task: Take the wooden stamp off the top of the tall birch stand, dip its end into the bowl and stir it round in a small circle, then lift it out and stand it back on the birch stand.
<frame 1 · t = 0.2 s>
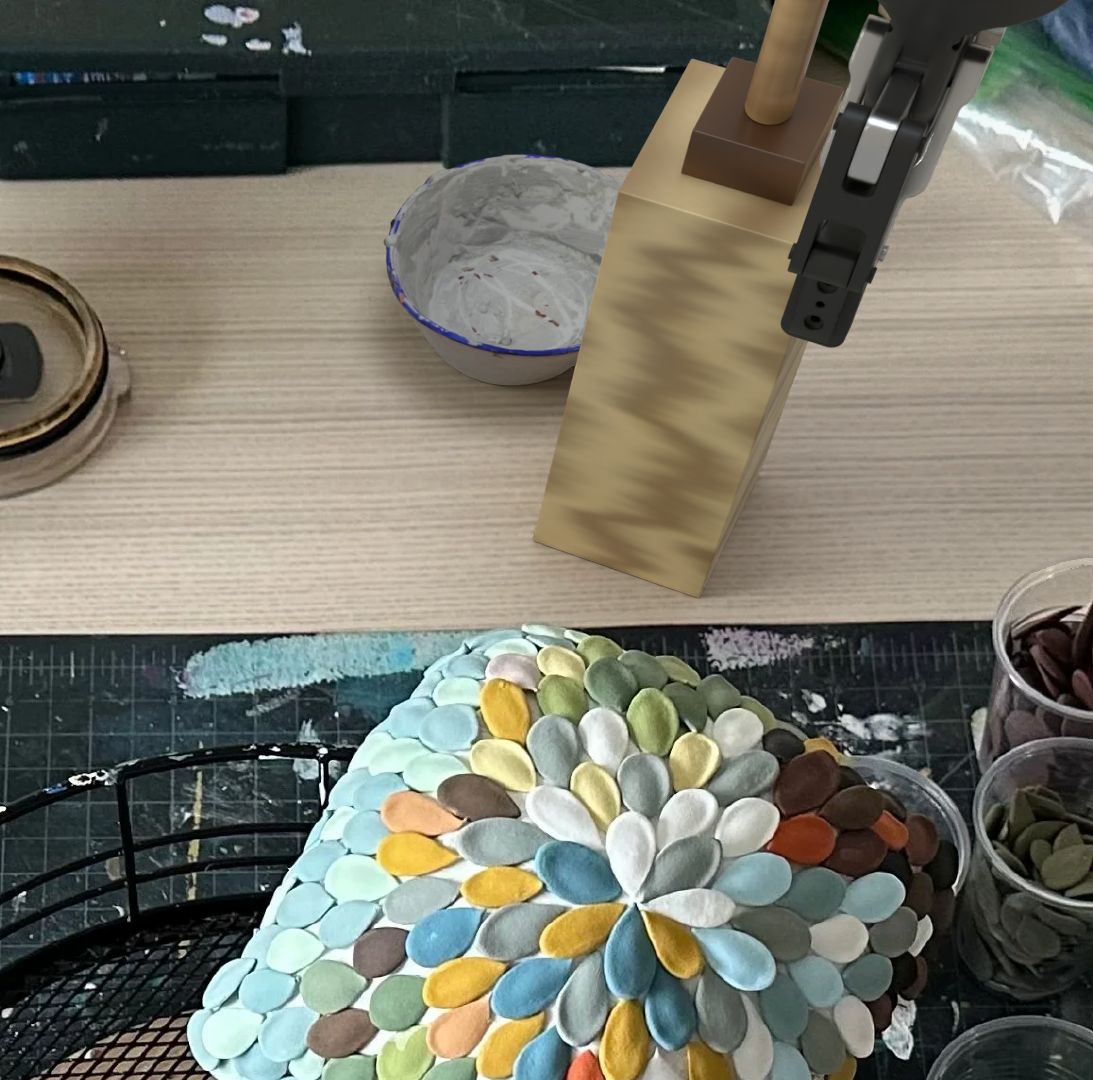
hand: (852, 250, 79), 24 cm above the table, tool pointing down, fingers open, 8 cm apart
pill bottle: (749, 258, 112), on the table
bowl: (507, 327, 111), on the table
stand: (646, 507, 106), on the table
wooden stamp: (755, 152, 88), point 20 cm above the table, touching stand
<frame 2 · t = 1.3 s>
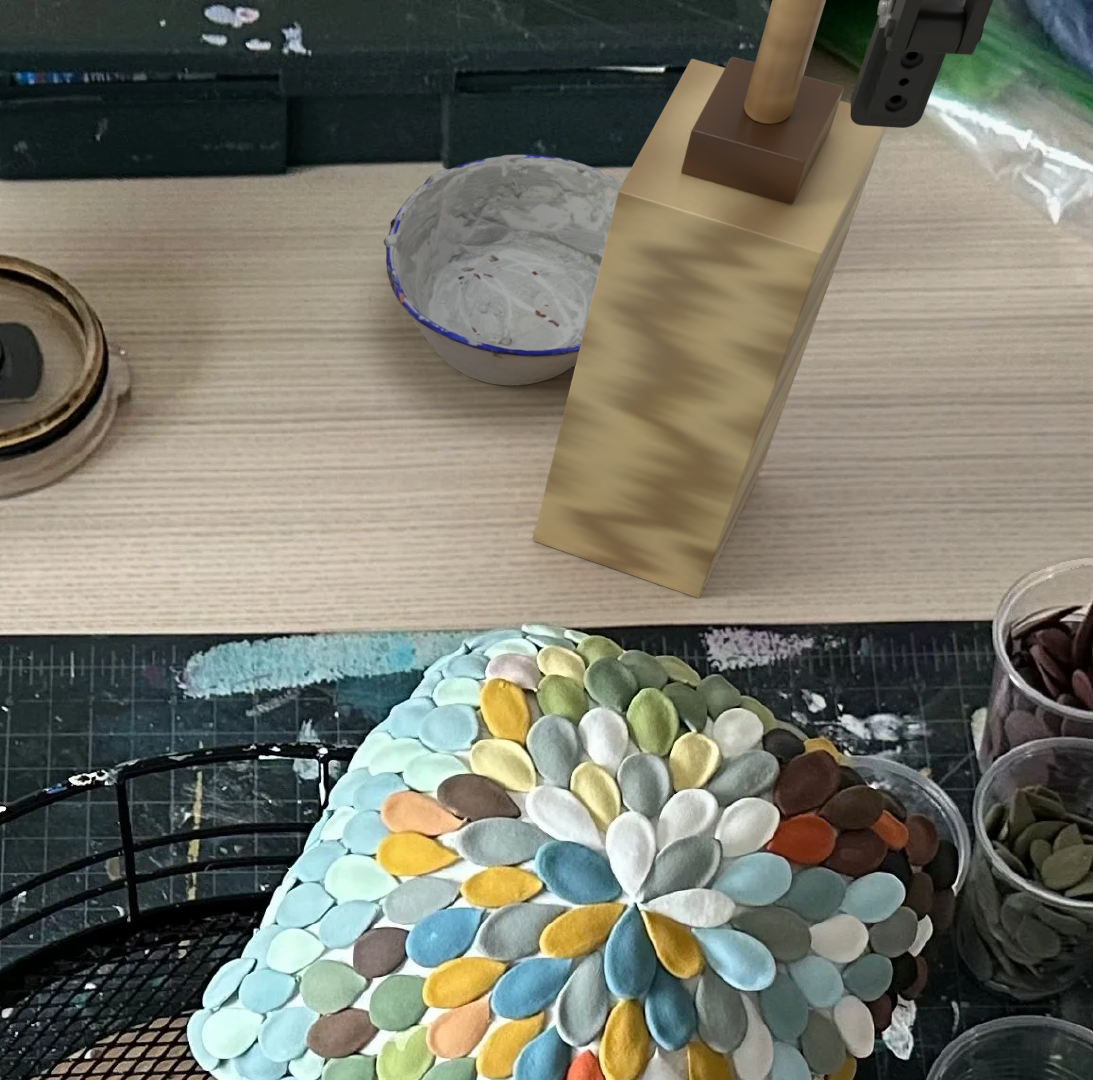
hand: (880, 28, 75), 31 cm above the table, tool pointing down, fingers open, 8 cm apart
wooden stamp: (755, 151, 88), point 20 cm above the table, touching gripper, stand
everything else where it was.
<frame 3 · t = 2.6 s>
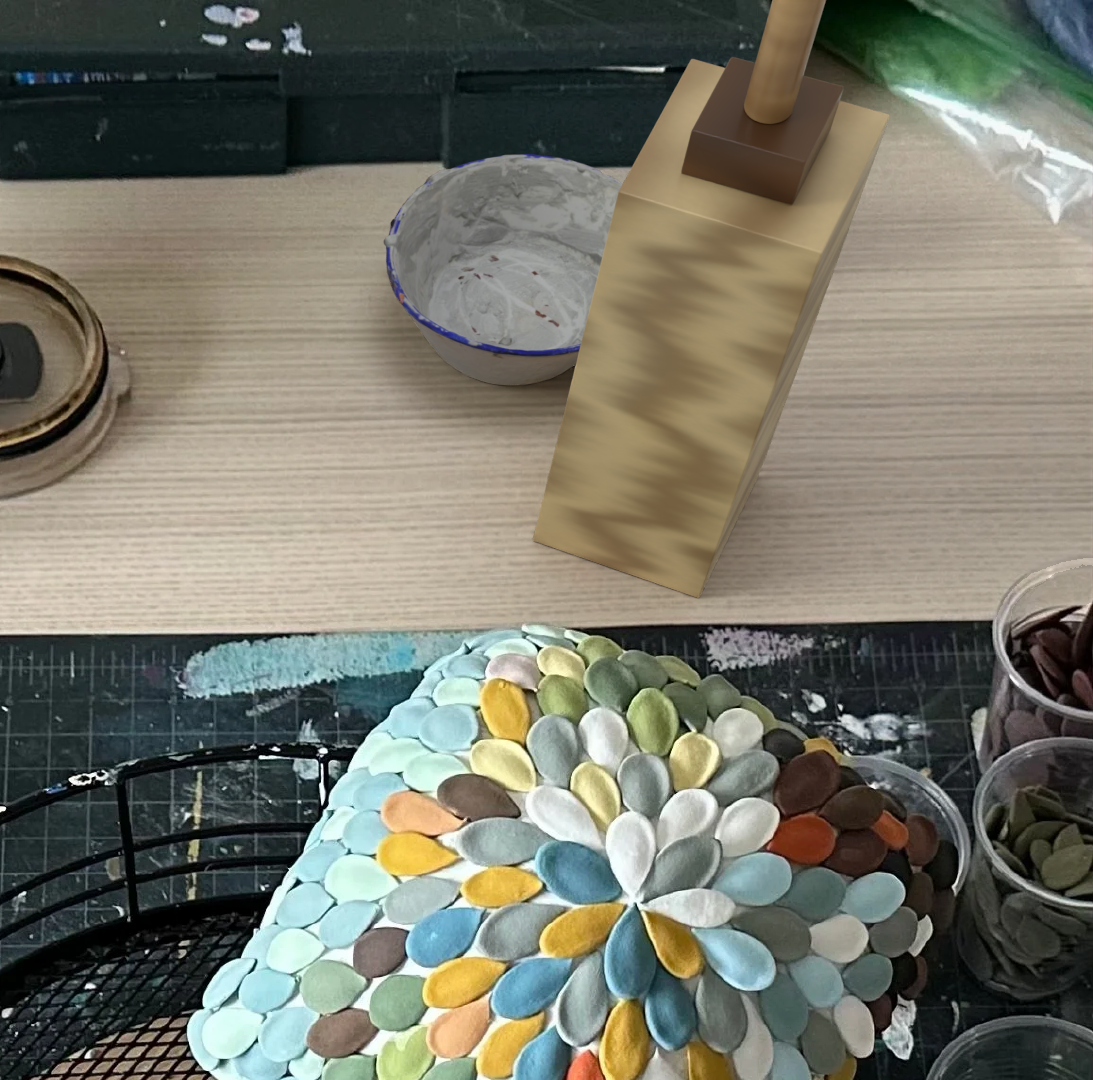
wooden stamp: (755, 152, 88), point 20 cm above the table, touching stand
everything else where it was.
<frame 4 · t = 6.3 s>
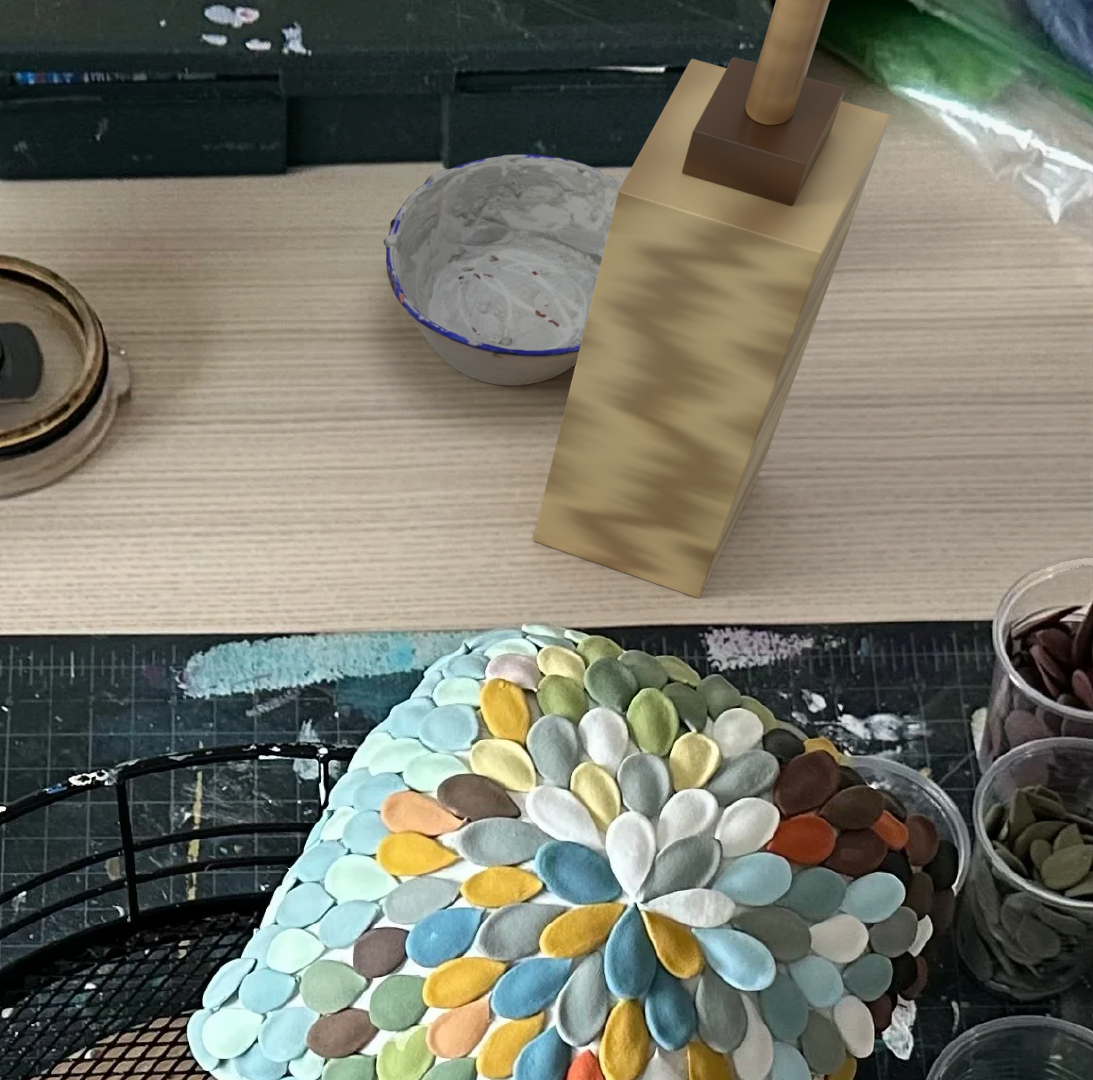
wooden stamp: (756, 152, 88), point 20 cm above the table, touching gripper, stand
everything else where it was.
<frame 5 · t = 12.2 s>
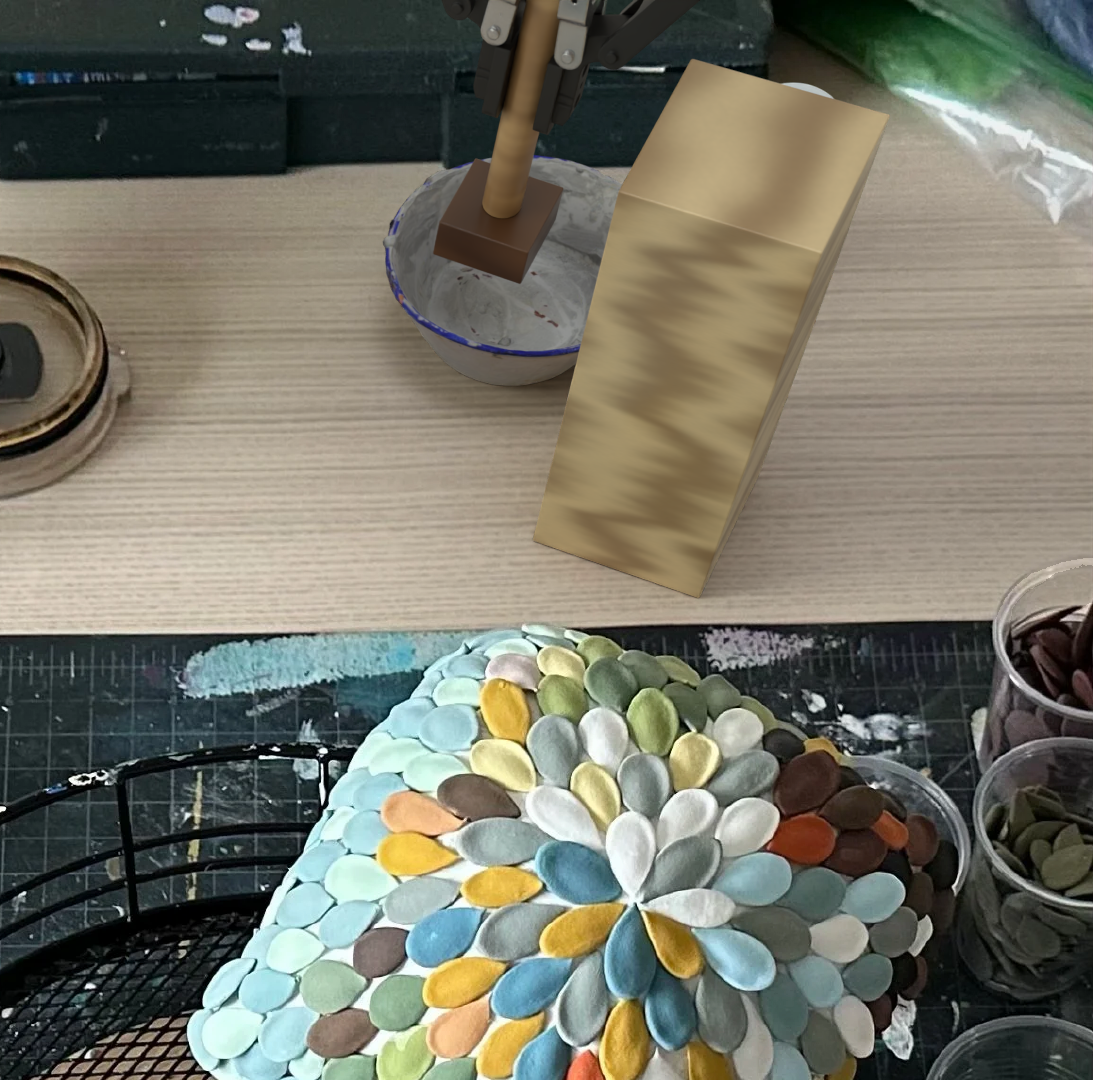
hand: (522, 110, 100), 12 cm above the table, tool pointing down, fingers closed on wooden stamp, 2 cm apart
bowl: (506, 327, 111), on the table, touching wooden stamp
wooden stamp: (494, 237, 107), point 5 cm above the table, touching bowl, gripper
everything else where it was.
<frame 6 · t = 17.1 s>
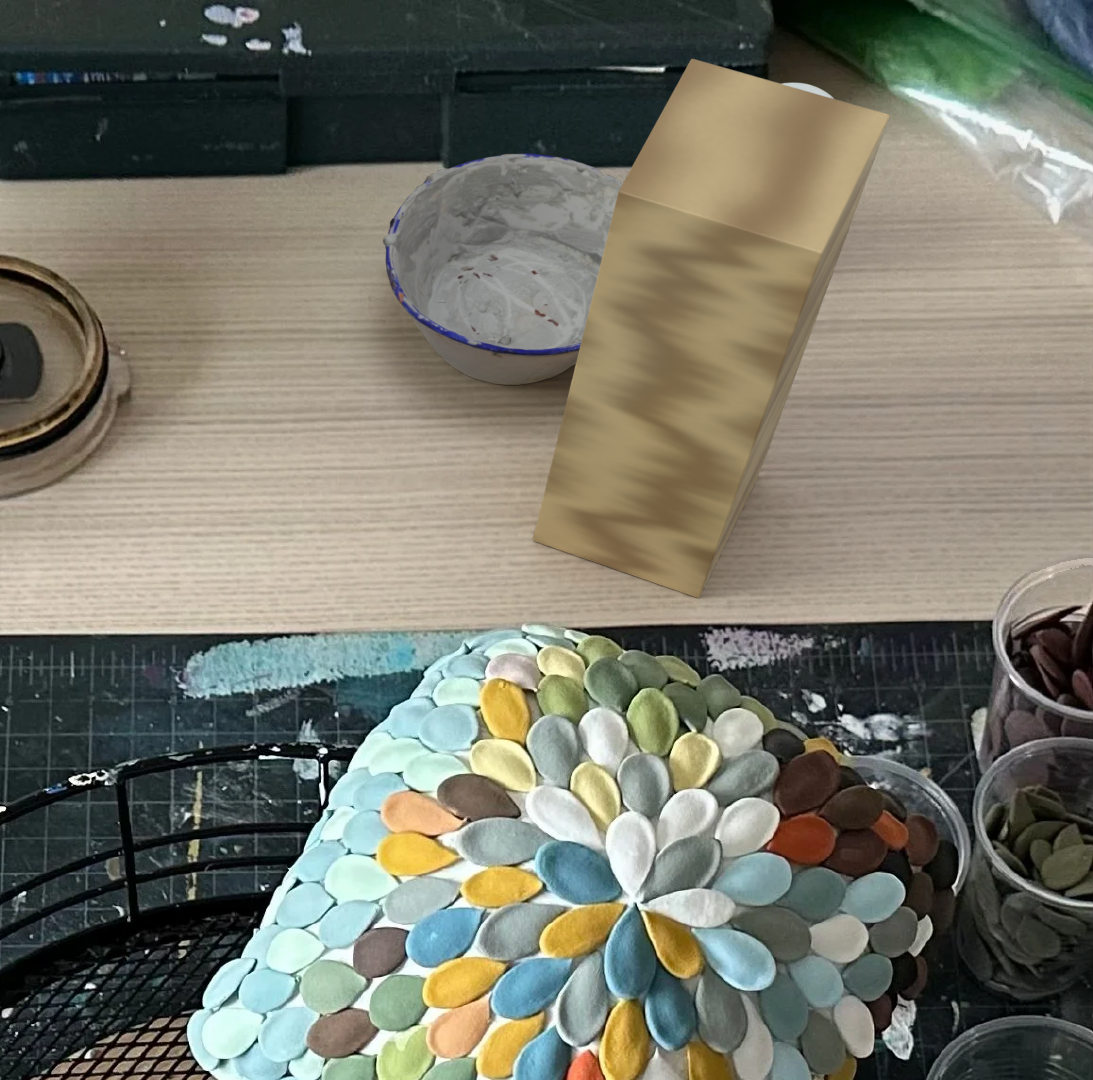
bowl: (507, 326, 111), on the table
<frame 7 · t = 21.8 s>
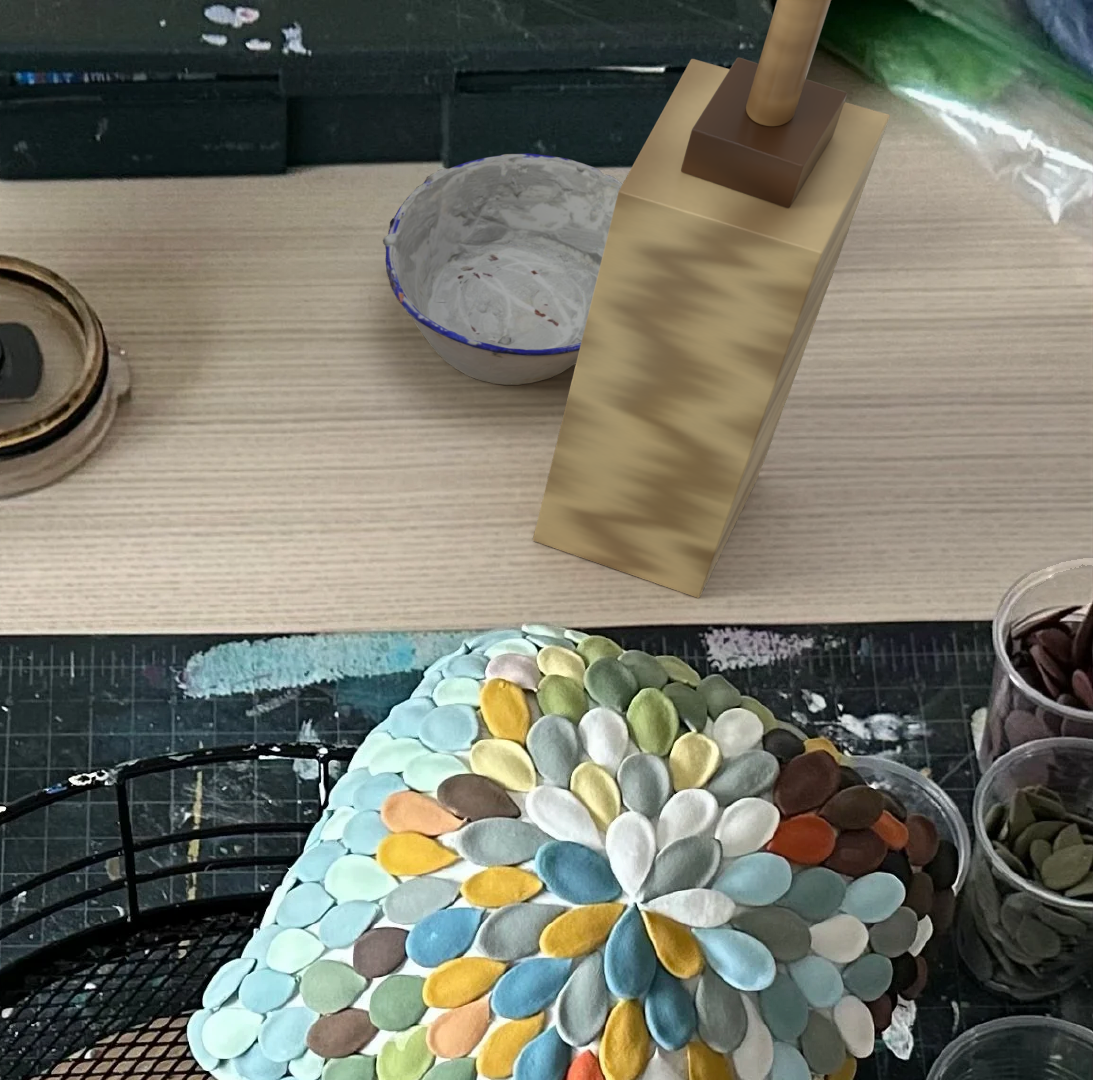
wooden stamp: (756, 154, 88), point 20 cm above the table, touching stand
everything else where it was.
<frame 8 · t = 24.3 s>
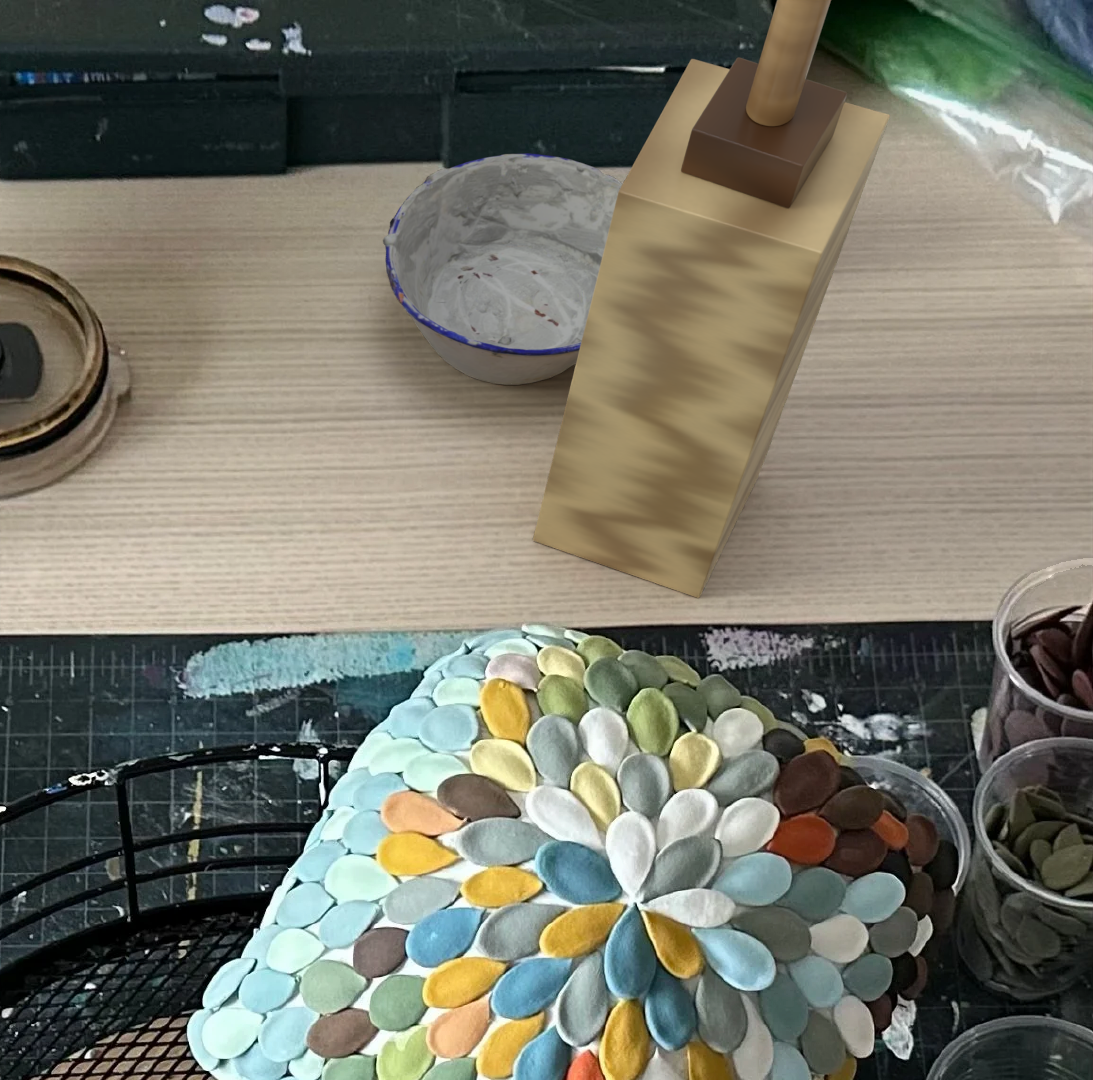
nothing on the table moved.
at the end: wooden stamp 0.1 cm off-centre on the stand, point 20.0 cm above the stand's base; wooden stamp tilted 0°; bowl moved 0.2 cm from its start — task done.
